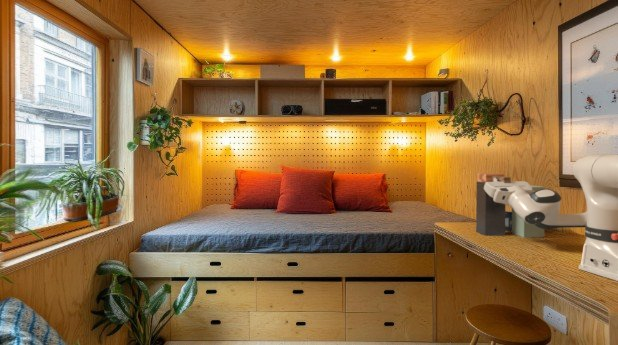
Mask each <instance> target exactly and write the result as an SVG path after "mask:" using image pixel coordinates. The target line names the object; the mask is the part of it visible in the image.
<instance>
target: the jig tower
mask: <svg viewBox="0 0 618 345" xmlns="http://www.w3.org/2000/svg"><path fill="white" fill-rule="evenodd" d="M485 183H486V182H478V181H476V205H475V206H476V208H475V209H476V211H475V212H476V214H475V215H476V217H475V218H476V220H475V221H476V222H475V223H476V224H475V225H476V226H475V228H476V229H475V232H476V233H477V234H481V235H483V236H485V237H486V236H506V231H505V211H506V204H503V203H498V202H495V201H494V200H493V198H492V197H490V196H489V195H488V194H487V193H486V191H485V190H484V185H485Z"/></svg>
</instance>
